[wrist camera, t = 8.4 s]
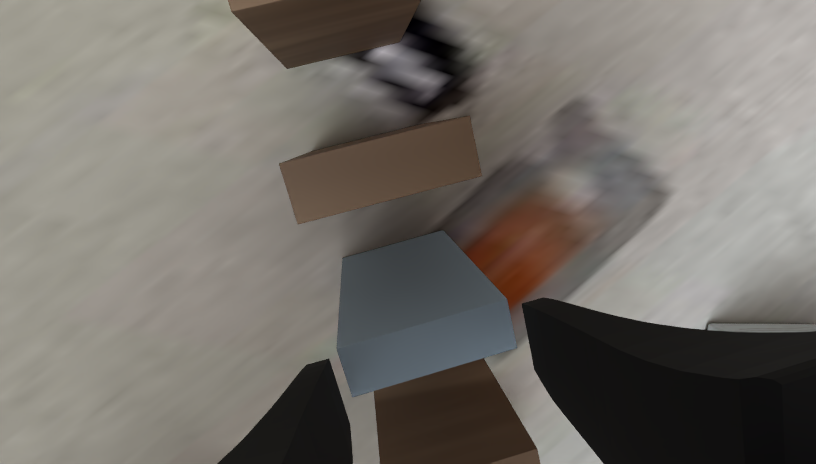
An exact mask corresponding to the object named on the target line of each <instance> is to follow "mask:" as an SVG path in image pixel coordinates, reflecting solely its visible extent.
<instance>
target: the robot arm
mask: <svg viewBox="0 0 816 464" xmlns="http://www.w3.org/2000/svg"><path fill="white" fill-rule="evenodd" d="M522 308H523V313H524V318H525V323H526V328H527V334H528V339H529V344H530V349H531V354H532V359H533V365H534V370H535V371H536V373H537V375H538V376H539V378H540V380H541V382H542V383H543V385H544V387H545V388H546V390H547V392H548V393H549V395H550V396H551V398H552V400H553V401H554V402H555V403H556V405H557V406H558V407H559V409H560V410H561V411H562V412H563V414H564V415H565V416H566V417H567V419H568V420H569V421H570V422H571V424H572V425H573V426H574V427H575V429H576V430H577V431H578V432H579V434H580V435H581V436H582V437H583V438H584V440H585V441H586V442H587V443H588V445H589V446H590V447H591V448H592V450H593V451H594V452H595V453H596V455H597V456H598V457H599V458H600V460H601V461H602V462H603V463H604V464H816V331H811V332H730V331H714V330H700V329H689V328H681V327H674V326H666V325H659V324H653V323H647V322H642V321H637V320H632V319H628V318H623V317H618V316H614V315H610V314H606V313H602V312H598V311H595V310H591V309H587V308H584V307H580V306H576V305H573V304H569V303H565V302H562V301H558V300H554V299H549V298H540V299H537V300H533V301H529V302H526V303H522ZM218 464H353V456H352V442H351V431H350V423H349V420H348V416H347V413H346V410H345V407H344V404H343V401H342V398H341V395H340V391H339V388H338V385H337V382H336V379H335V376H334V373H333V370H332V366H331V363H330V360H329V359H326V360H322V361H319V362H315V363H312V364H308V365H306V366H305V367H304V368H303V369H302V370H301V372H300V373H299V374H298V375H297V376H296V378H295V379H294V380H293V381H292V383H291V384H290V385H289V387H288V388H287V389H286V390H285V392H284V393H283V394H282V395H281V397H280V398H279V399H278V400H277V401H276V403H275V404H274V405H273V406H272V408H271V409H270V410H269V411H268V412H267V413H266V414H265V416H264V417H263V418H262V419H261V420H260V421H259V422H258V423H257V424H256V426H255V427H254V428H253V429H252V430H251V431H250V432H249V433H248V435H247V436H246V437H245V438H244V439H243V440H242V441H241V442H240V443H239V444H238V445H237V446H236V447H235V448H234V449H233V450H232V451H231V452H229V453H228V454H227V455H226V456H225V457H224V458H223V459H222V460H221V461H220V462H219V463H218Z"/></svg>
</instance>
